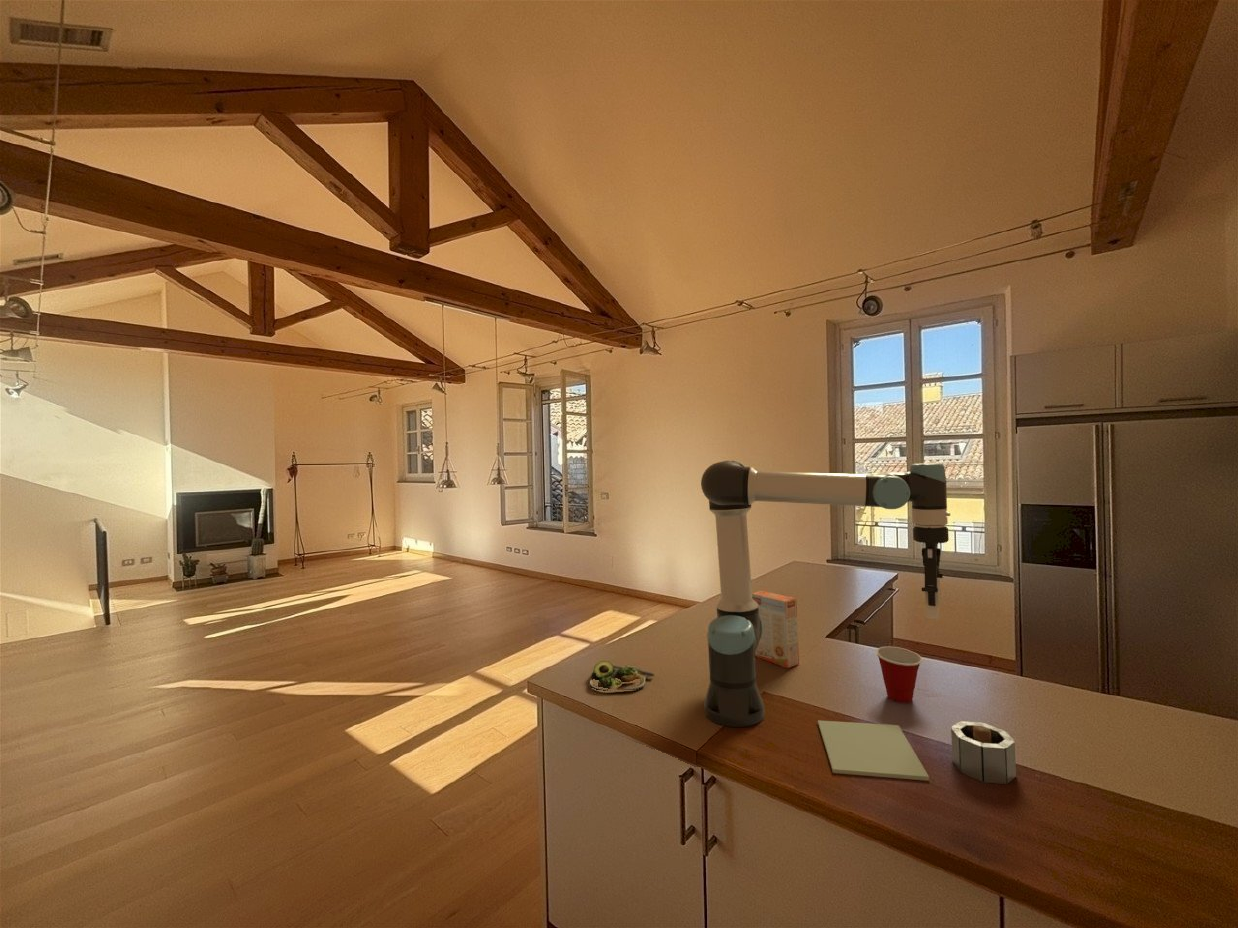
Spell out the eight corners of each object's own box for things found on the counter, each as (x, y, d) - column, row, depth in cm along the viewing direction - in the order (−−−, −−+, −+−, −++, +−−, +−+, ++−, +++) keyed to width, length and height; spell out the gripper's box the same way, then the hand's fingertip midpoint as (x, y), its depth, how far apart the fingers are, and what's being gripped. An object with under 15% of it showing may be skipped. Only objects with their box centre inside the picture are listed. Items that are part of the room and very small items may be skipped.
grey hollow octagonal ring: (966, 780, 103) (965, 745, 103) (946, 752, 113) (945, 720, 113) (1024, 785, 101) (1023, 749, 101) (998, 755, 111) (997, 723, 110)
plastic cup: (911, 712, 130) (909, 665, 130) (869, 697, 139) (867, 652, 139) (932, 699, 136) (930, 653, 136) (890, 685, 145) (889, 643, 145)
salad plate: (654, 669, 165) (654, 654, 165) (654, 694, 147) (654, 678, 147) (594, 670, 166) (593, 655, 166) (587, 695, 148) (586, 679, 148)
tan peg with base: (974, 774, 105) (973, 734, 105) (963, 759, 110) (962, 721, 110) (1004, 776, 104) (1002, 736, 104) (991, 761, 109) (990, 723, 109)
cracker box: (800, 664, 162) (797, 597, 162) (787, 669, 159) (784, 601, 159) (765, 651, 174) (762, 589, 174) (752, 656, 171) (749, 592, 171)
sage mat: (833, 772, 107) (832, 768, 107) (818, 723, 127) (817, 720, 127) (929, 780, 104) (929, 776, 103) (898, 728, 123) (898, 725, 123)
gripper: (947, 533, 116) (951, 627, 117) (948, 519, 137) (952, 599, 137) (908, 532, 120) (912, 623, 121) (916, 518, 141) (919, 596, 142)
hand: (933, 610), depth 129 cm, fingers open, 13 cm apart
